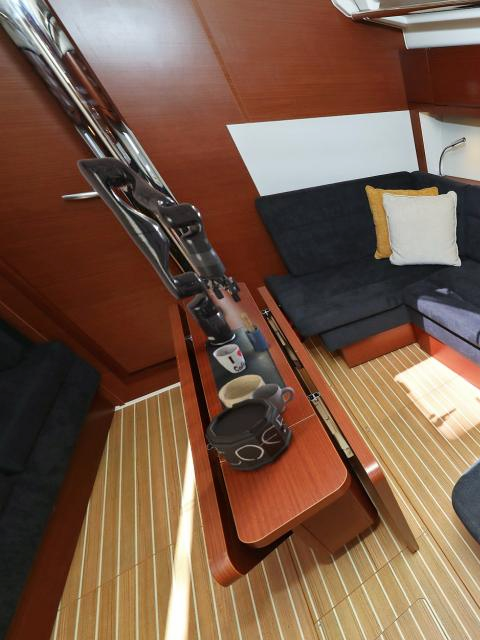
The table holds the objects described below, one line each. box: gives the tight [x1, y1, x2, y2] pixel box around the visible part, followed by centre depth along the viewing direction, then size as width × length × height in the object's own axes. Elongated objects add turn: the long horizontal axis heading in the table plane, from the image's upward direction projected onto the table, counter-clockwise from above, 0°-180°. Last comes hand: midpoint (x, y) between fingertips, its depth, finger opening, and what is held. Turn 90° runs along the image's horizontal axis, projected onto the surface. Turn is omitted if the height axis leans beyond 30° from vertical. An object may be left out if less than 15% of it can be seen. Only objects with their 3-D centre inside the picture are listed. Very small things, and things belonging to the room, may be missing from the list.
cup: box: [212, 343, 246, 374], centre depth 133 cm, size 8×8×10 cm
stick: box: [238, 311, 255, 333], centre depth 142 cm, size 2×2×18 cm
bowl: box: [218, 374, 267, 408], centre depth 120 cm, size 13×13×7 cm
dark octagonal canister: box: [205, 399, 293, 471], centre depth 101 cm, size 18×18×16 cm
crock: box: [244, 326, 270, 353], centre depth 145 cm, size 5×5×10 cm
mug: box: [250, 383, 295, 415], centre depth 116 cm, size 12×9×10 cm
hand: (229, 300), depth 129 cm, fingers open, 8 cm apart
